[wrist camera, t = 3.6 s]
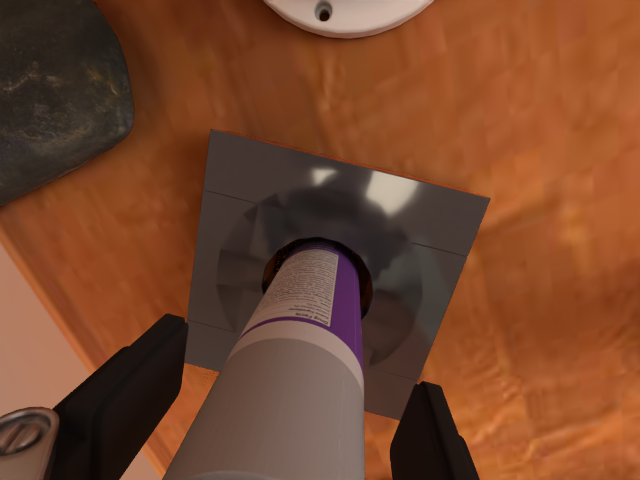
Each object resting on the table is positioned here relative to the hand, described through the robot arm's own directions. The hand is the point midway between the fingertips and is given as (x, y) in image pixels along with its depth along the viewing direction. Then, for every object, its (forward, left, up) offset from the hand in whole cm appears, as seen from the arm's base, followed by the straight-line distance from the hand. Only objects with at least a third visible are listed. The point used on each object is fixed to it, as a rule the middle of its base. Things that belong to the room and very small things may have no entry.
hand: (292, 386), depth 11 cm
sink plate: (0, 0, -10) cm, 10 cm away
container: (0, 0, -10) cm, 10 cm away
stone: (-1, -17, -8) cm, 19 cm away
